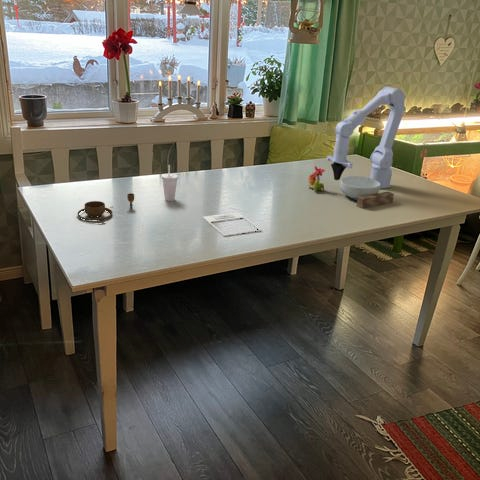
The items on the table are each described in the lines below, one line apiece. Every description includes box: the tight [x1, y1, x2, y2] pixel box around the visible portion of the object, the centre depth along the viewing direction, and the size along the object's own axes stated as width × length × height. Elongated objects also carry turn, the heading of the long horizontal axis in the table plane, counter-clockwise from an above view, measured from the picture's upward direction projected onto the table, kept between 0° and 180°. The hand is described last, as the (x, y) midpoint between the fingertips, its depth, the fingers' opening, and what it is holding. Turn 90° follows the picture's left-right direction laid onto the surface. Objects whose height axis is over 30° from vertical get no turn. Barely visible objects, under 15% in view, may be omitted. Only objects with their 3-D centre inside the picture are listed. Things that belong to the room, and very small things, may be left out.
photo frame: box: [202, 211, 263, 237], centre depth 180 cm, size 15×1×18 cm
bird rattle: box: [307, 166, 326, 193], centre depth 222 cm, size 6×11×9 cm
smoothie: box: [161, 164, 179, 202], centre depth 197 cm, size 6×6×14 cm
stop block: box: [356, 191, 395, 209], centre depth 210 cm, size 18×3×4 cm, turn 122°
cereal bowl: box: [339, 175, 380, 201], centre depth 216 cm, size 17×17×7 cm
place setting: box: [77, 192, 135, 221], centre depth 180 cm, size 18×20×6 cm
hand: (336, 179), depth 227 cm, fingers closed
